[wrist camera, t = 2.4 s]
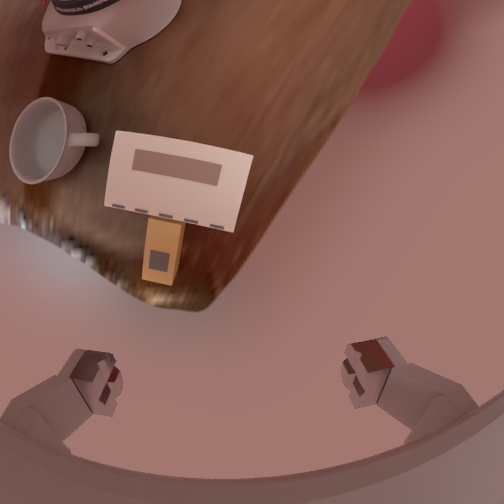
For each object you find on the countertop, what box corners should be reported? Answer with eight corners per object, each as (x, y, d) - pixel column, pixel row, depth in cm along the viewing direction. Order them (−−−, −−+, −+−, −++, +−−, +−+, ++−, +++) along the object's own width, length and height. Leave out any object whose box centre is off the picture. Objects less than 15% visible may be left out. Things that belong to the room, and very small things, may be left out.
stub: (151, 262, 37) (141, 279, 32) (158, 208, 34) (148, 218, 29) (178, 268, 37) (171, 286, 33) (187, 214, 35) (181, 225, 30)
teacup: (34, 167, 29) (1, 174, 22) (52, 98, 26) (20, 93, 19) (102, 189, 32) (74, 201, 25) (125, 112, 29) (99, 105, 21)
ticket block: (119, 197, 33) (103, 206, 28) (130, 132, 30) (115, 130, 25) (232, 221, 36) (233, 233, 31) (249, 154, 33) (253, 155, 28)
